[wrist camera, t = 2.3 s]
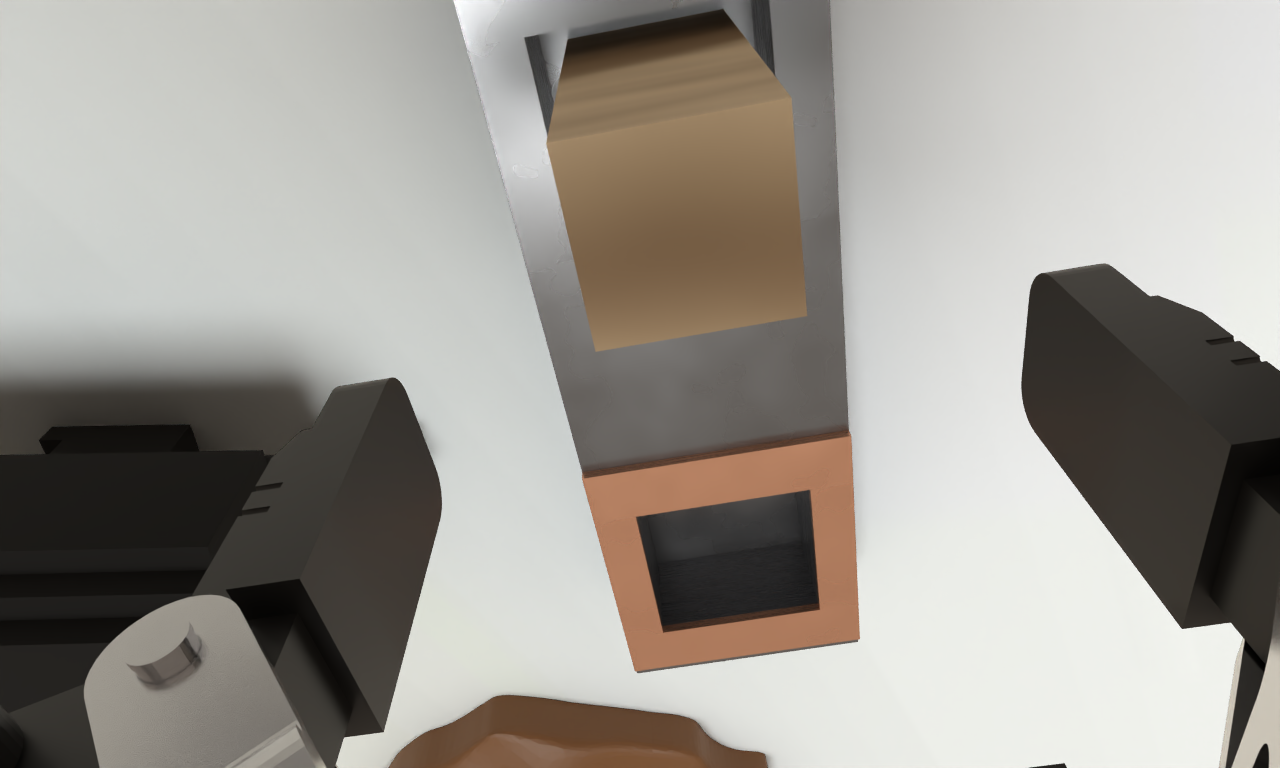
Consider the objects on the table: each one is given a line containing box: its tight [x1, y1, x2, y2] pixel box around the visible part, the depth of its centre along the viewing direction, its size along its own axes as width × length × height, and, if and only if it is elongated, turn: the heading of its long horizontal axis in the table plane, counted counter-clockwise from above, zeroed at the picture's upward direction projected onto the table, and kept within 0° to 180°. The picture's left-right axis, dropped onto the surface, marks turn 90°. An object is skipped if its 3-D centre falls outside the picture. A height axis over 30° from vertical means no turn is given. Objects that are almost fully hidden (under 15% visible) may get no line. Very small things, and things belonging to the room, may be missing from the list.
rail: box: [454, 0, 860, 673], centre depth 25 cm, size 24×8×4 cm, turn 10°
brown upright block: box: [546, 9, 807, 352], centre depth 18 cm, size 4×4×9 cm
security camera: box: [0, 424, 274, 713], centre depth 24 cm, size 7×18×10 cm, turn 90°
